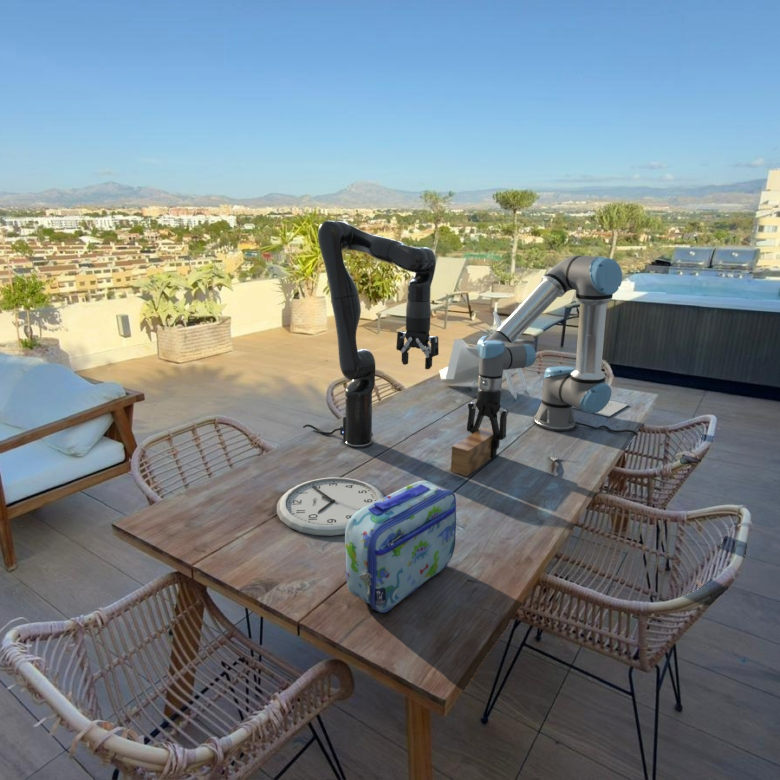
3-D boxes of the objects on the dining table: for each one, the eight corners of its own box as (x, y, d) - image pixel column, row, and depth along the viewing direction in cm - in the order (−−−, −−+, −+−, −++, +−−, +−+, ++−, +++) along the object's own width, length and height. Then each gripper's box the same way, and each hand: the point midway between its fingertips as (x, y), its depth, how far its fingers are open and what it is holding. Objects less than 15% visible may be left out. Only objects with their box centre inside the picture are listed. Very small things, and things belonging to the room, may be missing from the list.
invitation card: (608, 416, 214) (573, 407, 224) (608, 416, 214) (573, 408, 224) (628, 404, 229) (594, 396, 238) (628, 405, 229) (594, 397, 238)
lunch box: (374, 626, 100) (375, 530, 93) (338, 598, 107) (337, 508, 101) (459, 568, 117) (465, 484, 111) (424, 547, 124) (427, 467, 118)
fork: (547, 473, 163) (548, 467, 163) (550, 454, 177) (551, 448, 177) (556, 475, 162) (556, 469, 162) (558, 455, 177) (559, 449, 176)
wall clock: (392, 527, 129) (268, 531, 127) (391, 533, 130) (269, 537, 127) (383, 473, 158) (282, 475, 155) (383, 478, 158) (282, 480, 156)
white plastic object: (461, 429, 252) (437, 405, 227) (444, 352, 274) (420, 323, 250) (535, 404, 240) (518, 377, 215) (510, 326, 262) (492, 293, 237)
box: (481, 450, 180) (482, 427, 177) (496, 454, 177) (498, 431, 174) (450, 471, 164) (451, 446, 162) (466, 476, 161) (468, 451, 158)
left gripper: (392, 314, 161) (391, 365, 166) (431, 319, 153) (429, 372, 158) (406, 311, 167) (404, 360, 171) (444, 316, 159) (442, 368, 163)
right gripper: (458, 385, 171) (454, 450, 178) (511, 397, 161) (505, 465, 167) (469, 380, 177) (465, 444, 184) (521, 391, 166) (515, 458, 173)
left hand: (416, 366), depth 165 cm, fingers open, 8 cm apart
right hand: (484, 454), depth 176 cm, fingers closed on box, 6 cm apart
